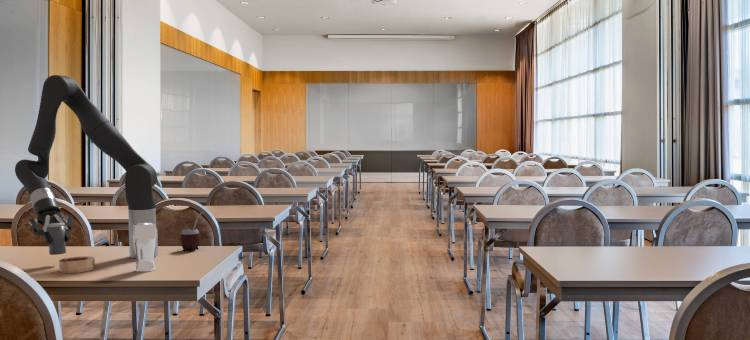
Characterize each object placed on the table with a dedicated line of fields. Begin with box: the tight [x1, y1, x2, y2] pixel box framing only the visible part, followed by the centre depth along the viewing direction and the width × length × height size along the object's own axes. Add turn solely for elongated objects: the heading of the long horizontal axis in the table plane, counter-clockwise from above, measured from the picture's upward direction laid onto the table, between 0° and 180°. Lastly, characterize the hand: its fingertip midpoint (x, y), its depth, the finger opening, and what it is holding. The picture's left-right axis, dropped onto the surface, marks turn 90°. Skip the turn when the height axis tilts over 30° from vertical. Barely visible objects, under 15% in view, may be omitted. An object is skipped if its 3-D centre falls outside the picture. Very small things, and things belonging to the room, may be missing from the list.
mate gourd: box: [180, 210, 205, 252], centre depth 234 cm, size 8×8×15 cm
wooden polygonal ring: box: [58, 255, 96, 274], centre depth 200 cm, size 10×10×4 cm
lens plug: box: [48, 222, 67, 256], centre depth 208 cm, size 5×5×10 cm
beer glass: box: [133, 222, 157, 273], centre depth 198 cm, size 7×7×15 cm
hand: (59, 241), depth 207 cm, fingers closed on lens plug, 5 cm apart
